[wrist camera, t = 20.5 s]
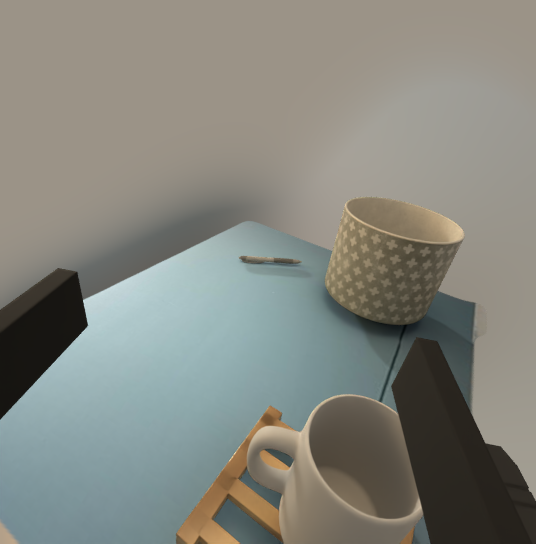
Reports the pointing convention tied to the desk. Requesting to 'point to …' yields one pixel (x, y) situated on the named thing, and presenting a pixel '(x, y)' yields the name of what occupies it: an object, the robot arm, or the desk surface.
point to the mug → (341, 475)
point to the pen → (267, 260)
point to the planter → (390, 259)
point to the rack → (238, 496)
